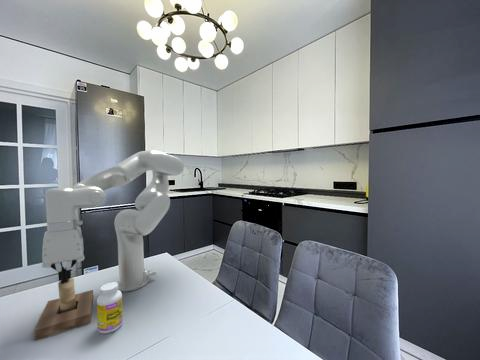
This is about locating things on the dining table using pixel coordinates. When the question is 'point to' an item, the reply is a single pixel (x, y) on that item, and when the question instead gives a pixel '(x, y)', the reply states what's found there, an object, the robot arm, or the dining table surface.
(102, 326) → the supplement bottle
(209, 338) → the dining table surface
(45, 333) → the board
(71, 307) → the peg
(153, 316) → the dining table surface
